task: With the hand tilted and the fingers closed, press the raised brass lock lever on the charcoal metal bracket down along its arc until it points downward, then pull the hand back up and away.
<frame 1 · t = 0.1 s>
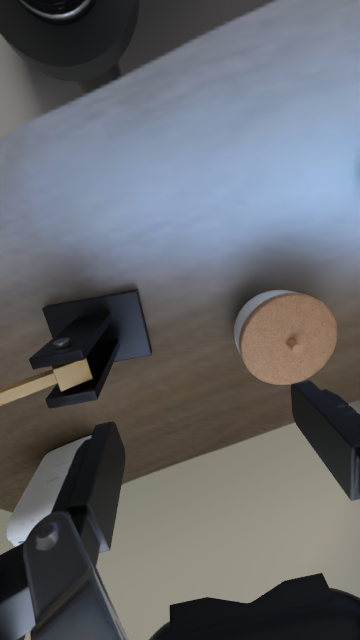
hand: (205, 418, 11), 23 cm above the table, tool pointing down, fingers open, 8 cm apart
bracket: (101, 329, 33), on the table
trinket box: (262, 320, 34), on the table
lever: (1, 396, 20), point 14 cm above the table, hinge at 28.0°
photo printer: (78, 448, 39), on the table
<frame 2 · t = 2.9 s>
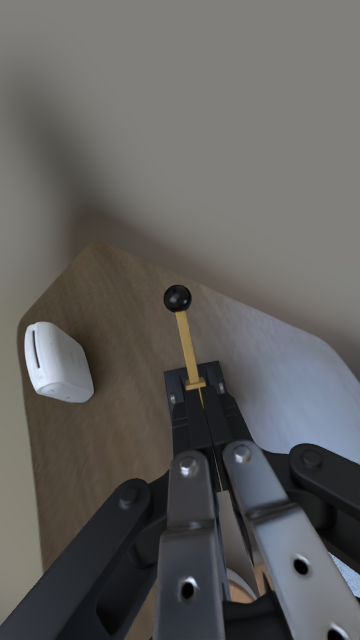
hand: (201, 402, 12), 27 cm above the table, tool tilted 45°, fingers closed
bracket: (199, 405, 38), on the table
trinket box: (215, 608, 28), on the table
lever: (187, 345, 28), point 14 cm above the table, hinge at 28.0°
photo printer: (79, 374, 42), on the table
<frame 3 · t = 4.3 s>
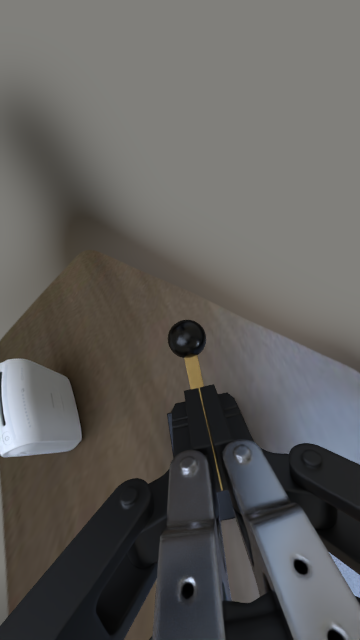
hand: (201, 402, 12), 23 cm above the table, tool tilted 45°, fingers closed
bracket: (211, 457, 31), on the table
lever: (200, 401, 21), point 14 cm above the table, hinge at 28.0°
photo printer: (65, 413, 35), on the table
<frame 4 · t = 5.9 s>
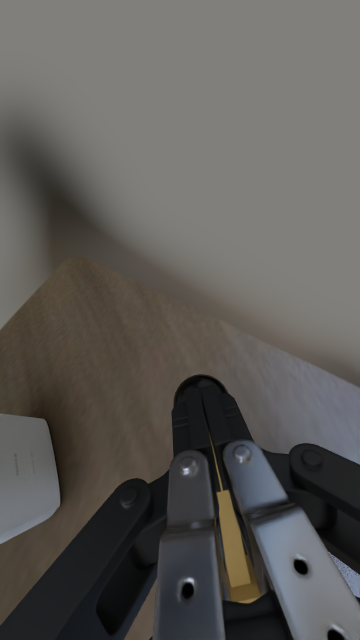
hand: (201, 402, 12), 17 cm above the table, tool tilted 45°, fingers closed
lever: (222, 499, 14), point 13 cm above the table, hinge at 24.3°, touching gripper
photo printer: (40, 466, 28), on the table
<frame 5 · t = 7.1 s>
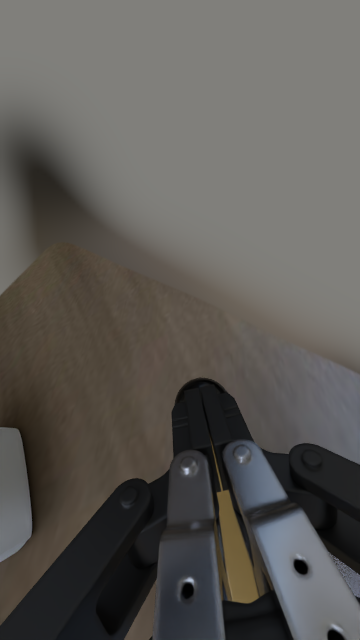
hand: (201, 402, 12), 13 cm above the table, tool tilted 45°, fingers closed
lever: (229, 526, 11), point 11 cm above the table, hinge at -0.6°, touching gripper
photo printer: (11, 486, 23), on the table
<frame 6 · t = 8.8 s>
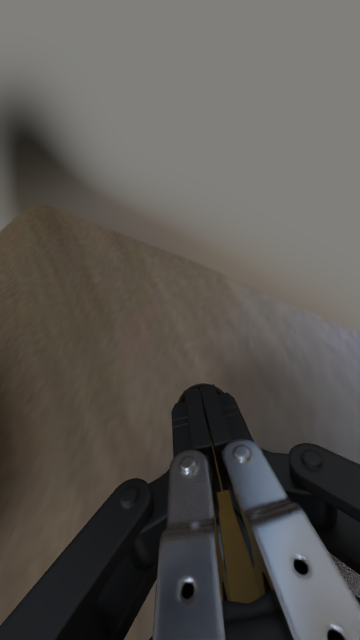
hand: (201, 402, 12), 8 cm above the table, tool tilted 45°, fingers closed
lever: (231, 533, 9), point 8 cm above the table, hinge at -30.7°, touching gripper
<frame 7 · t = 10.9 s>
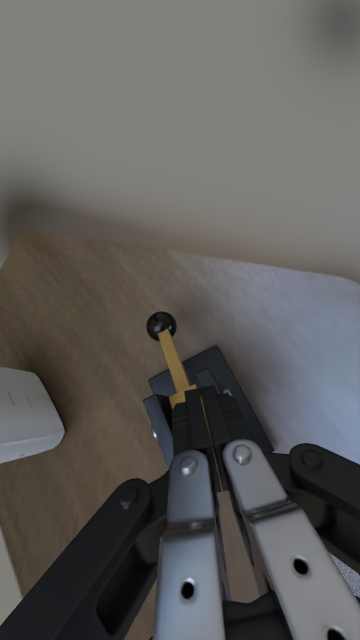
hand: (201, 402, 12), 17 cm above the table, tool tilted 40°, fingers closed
bracket: (206, 411, 28), on the table
lever: (174, 360, 22), point 8 cm above the table, hinge at -30.7°
photo printer: (42, 410, 31), on the table
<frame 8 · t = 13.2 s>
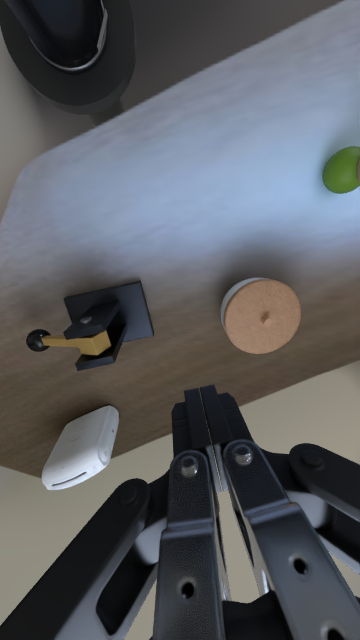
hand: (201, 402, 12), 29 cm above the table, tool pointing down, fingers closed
bracket: (111, 315, 40), on the table
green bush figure: (332, 172, 36), on the table
trinket box: (245, 304, 41), on the table
lever: (63, 341, 33), point 8 cm above the table, hinge at -30.7°
photo printer: (94, 419, 46), on the table
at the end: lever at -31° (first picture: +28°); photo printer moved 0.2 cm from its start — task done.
